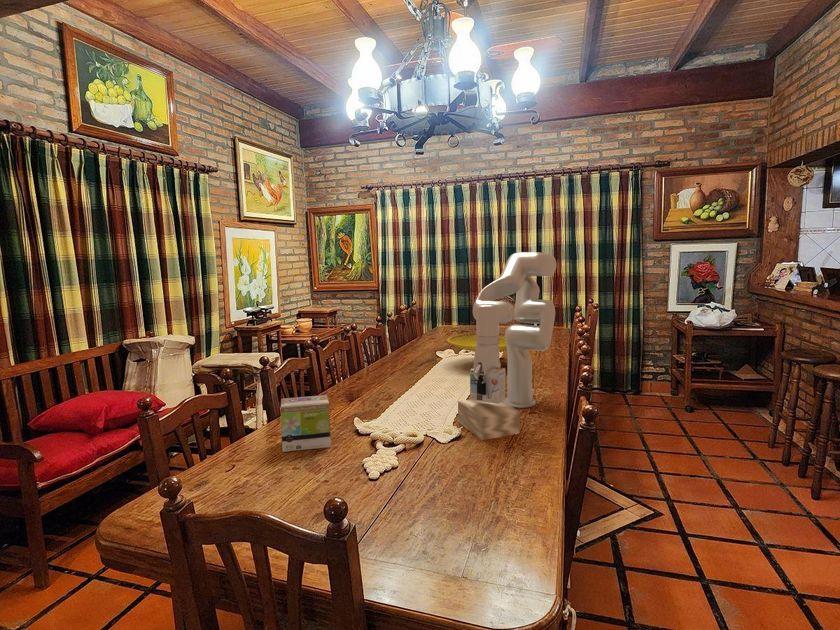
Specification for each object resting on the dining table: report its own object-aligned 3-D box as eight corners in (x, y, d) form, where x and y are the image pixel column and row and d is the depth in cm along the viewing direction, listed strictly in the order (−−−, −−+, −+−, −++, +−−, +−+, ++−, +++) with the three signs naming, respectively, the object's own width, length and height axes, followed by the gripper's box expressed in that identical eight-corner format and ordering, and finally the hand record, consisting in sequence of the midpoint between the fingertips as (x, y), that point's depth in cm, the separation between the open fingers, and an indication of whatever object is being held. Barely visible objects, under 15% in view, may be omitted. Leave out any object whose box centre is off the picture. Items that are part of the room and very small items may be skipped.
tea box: (282, 453, 146) (279, 407, 144) (282, 441, 155) (279, 397, 153) (331, 447, 150) (329, 402, 148) (329, 436, 159) (327, 393, 157)
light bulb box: (469, 400, 162) (469, 369, 160) (476, 394, 168) (476, 364, 166) (499, 404, 157) (499, 372, 155) (505, 398, 163) (506, 367, 161)
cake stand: (535, 363, 254) (535, 335, 252) (507, 381, 220) (507, 350, 218) (467, 356, 275) (467, 330, 273) (432, 371, 241) (431, 342, 239)
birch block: (492, 417, 174) (492, 396, 173) (519, 434, 158) (519, 411, 157) (458, 422, 170) (458, 401, 168) (482, 441, 153) (482, 417, 152)
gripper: (490, 335, 169) (490, 383, 171) (464, 343, 155) (464, 395, 157) (509, 337, 164) (509, 387, 166) (484, 345, 150) (484, 399, 153)
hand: (487, 391), depth 162 cm, fingers closed on light bulb box, 7 cm apart
